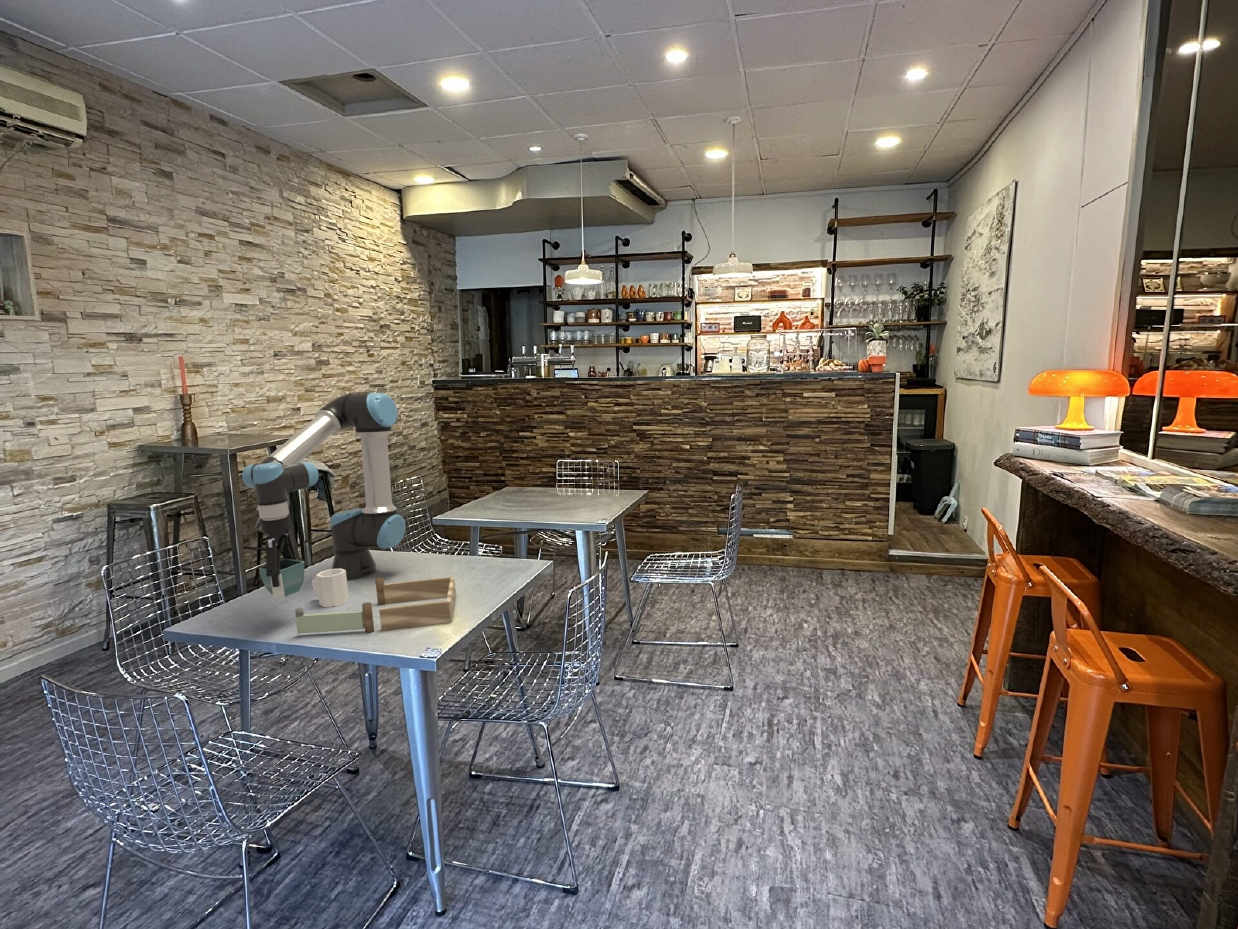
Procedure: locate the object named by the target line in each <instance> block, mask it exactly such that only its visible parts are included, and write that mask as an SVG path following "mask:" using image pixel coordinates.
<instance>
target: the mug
mask: <svg viewBox="0 0 1238 929" xmlns="http://www.w3.org/2000/svg"><path fill="white" fill-rule="evenodd" d="M310 583H311V586H312V588H313V592H314V595H315V596H318V602H319V606H320V605H321V607H323V608H330V607H331V608H333V607H332V606H335V607H337V606H340V605H344V604H346V603H348V602H349V600H350V594H349V589H348V580H347V578H346V570H344V569H332V568H330V569H325V570H322V571H320V572H319V573H317V574H315V576H314V578H313V579H312V581H311V582H310Z"/></svg>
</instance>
